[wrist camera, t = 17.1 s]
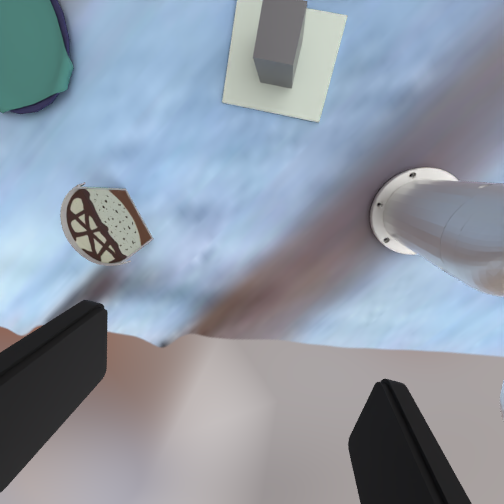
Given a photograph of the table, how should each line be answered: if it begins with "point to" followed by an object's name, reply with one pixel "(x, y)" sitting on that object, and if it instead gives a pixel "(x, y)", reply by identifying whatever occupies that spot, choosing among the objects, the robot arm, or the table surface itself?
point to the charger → (279, 41)
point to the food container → (103, 224)
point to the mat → (307, 72)
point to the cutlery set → (32, 54)
